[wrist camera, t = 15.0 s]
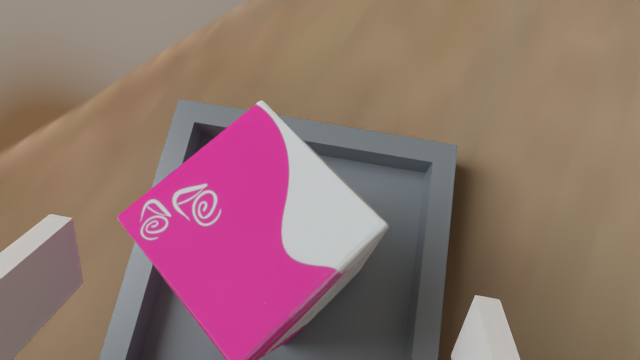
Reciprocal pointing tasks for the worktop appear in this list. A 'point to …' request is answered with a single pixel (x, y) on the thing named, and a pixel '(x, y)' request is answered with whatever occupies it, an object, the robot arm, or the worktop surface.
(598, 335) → the worktop surface
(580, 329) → the worktop surface
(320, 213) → the supplement box
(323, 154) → the tray
